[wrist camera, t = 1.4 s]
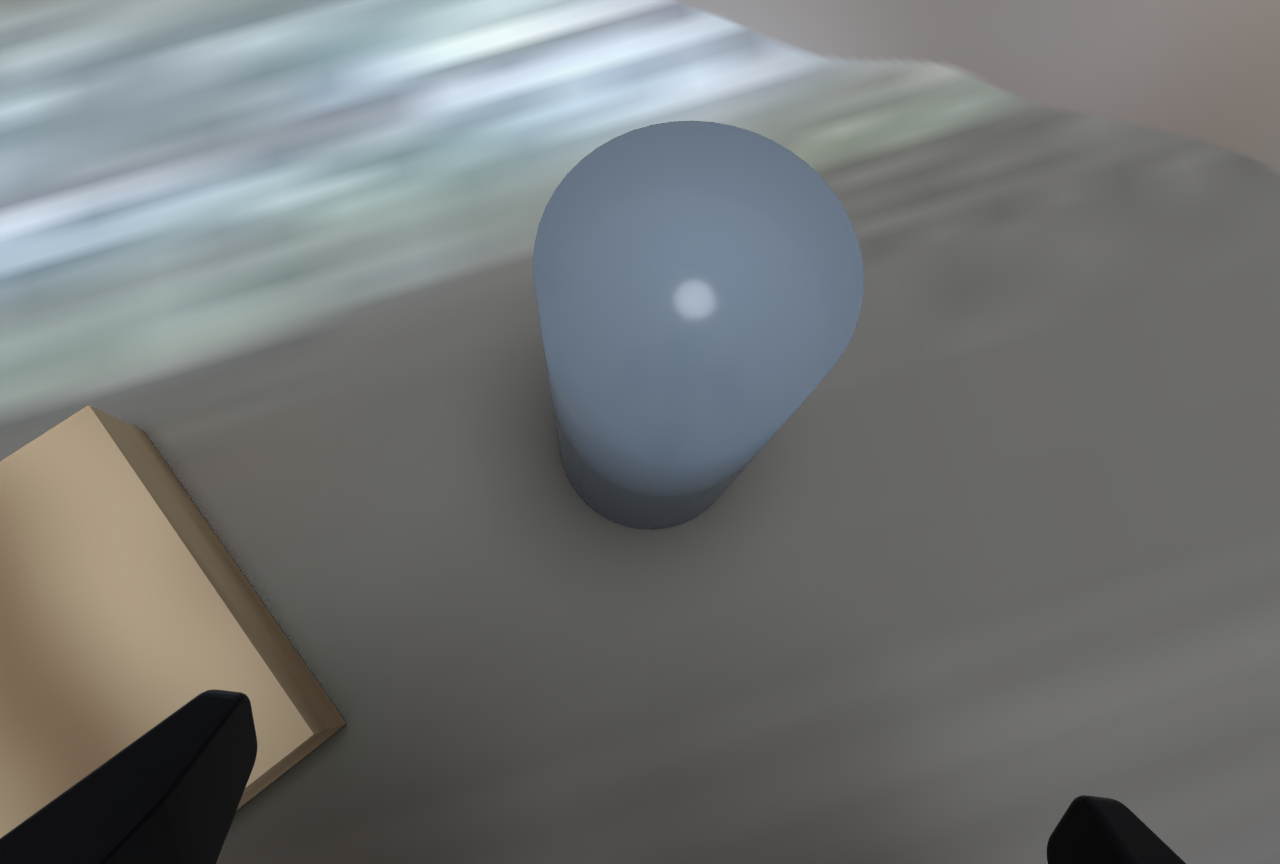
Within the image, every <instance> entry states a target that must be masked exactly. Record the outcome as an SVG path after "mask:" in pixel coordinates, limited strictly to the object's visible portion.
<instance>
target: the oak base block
mask: <svg viewBox="0 0 1280 864" xmlns="http://www.w3.org/2000/svg"><path fill="white" fill-rule="evenodd" d="M214 689H216V690H224V691H233V692H241V693H244V694H246V695H247V696H248V698H249V699H250V703H251V708H252V713H253V719H254V725H255V731H256V737H257V745H258V746H257V755H256V760H255V764H254V767H253V769H252V772H251V774H250V777H249V780H248V782H247V785H246V787H245V790H244V792H243V795H242V798H241V800H240V803H239V805H238V808H237V810H238V809H239V808H240V807H242V806H243V805H244V804H245V803H247V802H248V801H249V800H250V799H252V798H253V797H254V796H256V795H257V794H258V793H259V792H261V791H262V790H263V789H264V788H266V787H267V786H268V785H269V784H271V783H272V782H273V781H274V780H276V779H277V778H278V777H280V776H281V775H282V774H283V773H285V772H286V771H287V770H288V769H290V768H291V767H292V766H293V765H295V764H296V763H297V762H298V761H300V760H301V759H302V758H304V757H305V756H306V755H307V754H309V753H310V752H311V751H312V750H314V749H315V748H316V747H317V746H319V745H320V744H321V743H322V742H324V741H325V740H326V739H328V738H329V737H330V736H331V735H333V734H334V733H335V732H336V731H338V730H339V729H340V728H341V727H343V726H344V725H345V724H346V722H345V721H344V719H343V718H342V716H341V715H340V713H339V712H338V711H337V709H336V708H335V706H334V705H333V703H332V702H331V700H330V699H329V698H328V696H327V695H326V693H325V692H324V690H323V689H322V687H321V686H320V685H319V683H318V682H317V680H316V679H315V677H314V676H313V674H312V673H311V672H310V670H309V669H308V667H307V666H306V664H305V663H304V661H303V660H302V659H301V657H300V656H299V654H298V653H297V651H296V650H295V648H294V647H293V646H292V644H291V643H290V641H289V640H288V638H287V637H286V636H285V634H284V633H283V631H282V630H281V628H280V627H279V625H278V624H277V623H276V621H275V620H274V618H273V617H272V615H271V614H270V612H269V611H268V610H267V608H266V607H265V605H264V604H263V602H262V601H261V599H260V598H259V597H258V595H257V594H256V592H255V591H254V589H253V588H252V586H251V585H250V584H249V582H248V581H247V579H246V578H245V576H244V575H243V573H242V572H241V571H240V569H239V568H238V566H237V565H236V563H235V562H234V560H233V559H232V558H231V556H230V555H229V553H228V552H227V550H226V549H225V548H224V546H223V545H222V543H221V542H220V540H219V539H218V537H217V536H216V535H215V533H214V532H213V530H212V529H211V527H210V526H209V524H208V523H207V522H206V520H205V519H204V517H203V516H202V514H201V513H200V511H199V510H198V509H197V507H196V506H195V504H194V503H193V501H192V500H191V498H190V497H189V496H188V494H187V493H186V491H185V490H184V488H183V487H182V485H181V484H180V483H179V481H178V480H177V478H176V477H175V475H174V474H173V473H172V471H171V470H170V468H169V467H168V465H167V464H166V462H165V461H164V460H163V458H162V457H161V455H160V454H159V452H158V451H157V449H156V448H155V447H154V445H153V444H152V442H151V441H150V439H149V438H148V436H147V435H146V434H145V432H144V431H143V430H141V429H138V428H136V427H134V426H132V425H130V424H128V423H126V422H124V421H122V420H120V419H117V418H115V417H113V416H111V415H109V414H107V413H105V412H103V411H101V410H99V409H97V408H94V407H92V406H90V405H88V406H86V407H85V408H83V409H82V410H80V411H79V412H77V413H75V414H74V415H72V416H71V417H69V418H68V419H66V420H64V421H63V422H61V423H60V424H58V425H57V426H55V427H54V428H52V429H50V430H49V431H47V432H46V433H44V434H43V435H41V436H39V437H38V438H36V439H35V440H33V441H32V442H30V443H28V444H27V445H25V446H24V447H22V448H21V449H19V450H18V451H16V452H14V453H13V454H11V455H10V456H8V457H7V458H5V459H3V460H2V461H0V838H1V837H3V836H4V835H6V834H7V833H8V832H10V831H11V830H13V829H14V828H15V827H17V826H18V825H19V824H21V823H22V822H24V821H25V820H26V819H28V818H29V817H30V816H32V815H33V814H35V813H36V812H37V811H39V810H40V809H41V808H43V807H44V806H46V805H47V804H48V803H50V802H51V801H53V800H54V799H55V798H57V797H58V796H59V795H61V794H62V793H64V792H65V791H66V790H68V789H69V788H70V787H72V786H73V785H75V784H76V783H77V782H79V781H80V780H81V779H83V778H84V777H86V776H87V775H88V774H90V773H91V772H93V771H94V770H95V769H97V768H98V767H99V766H101V765H102V764H104V763H105V762H106V761H108V760H109V759H110V758H112V757H113V756H115V755H116V754H117V753H119V752H120V751H121V750H123V749H124V748H126V747H127V746H128V745H130V744H131V743H133V742H134V741H135V740H137V739H138V738H139V737H141V736H142V735H144V734H145V733H146V732H148V731H149V730H150V729H152V728H153V727H155V726H156V725H157V724H159V723H160V722H162V721H163V720H164V719H166V718H167V717H168V716H170V715H171V714H173V713H174V712H175V711H177V710H178V709H179V708H181V707H182V706H184V705H185V704H186V703H188V702H189V701H190V700H192V699H193V698H195V697H196V696H197V695H199V694H201V693H202V692H205V691H207V690H214ZM237 810H236V811H237Z"/></svg>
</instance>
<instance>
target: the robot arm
mask: <svg viewBox="0 0 1280 864" xmlns="http://www.w3.org/2000/svg"><path fill="white" fill-rule="evenodd" d="M257 746H258V745H257V737H256V731H255V725H254V719H253V713H252V708H251V703H250V699H249V698H248V696H247V695H246V694H244V693H241V692H233V691H224V690H216V689H214V690H207V691H205V692H202V693H201V694H199V695H197V696H196V697H195V698H193V699H192V700H190V701H189V702H188V703H186V704H185V705H184V706H182V707H181V708H179V709H178V710H177V711H175V712H174V713H173V714H171V715H170V716H168V717H167V718H166V719H164V720H163V721H162V722H160V723H159V724H157V725H156V726H155V727H153V728H152V729H150V730H149V731H148V732H146V733H145V734H144V735H142V736H141V737H139V738H138V739H137V740H135V741H134V742H133V743H131V744H130V745H128V746H127V747H126V748H124V749H123V750H121V751H120V752H119V753H117V754H116V755H115V756H113V757H112V758H110V759H109V760H108V761H106V762H105V763H104V764H102V765H101V766H99V767H98V768H97V769H95V770H94V771H93V772H91V773H90V774H88V775H87V776H86V777H84V778H83V779H81V780H80V781H79V782H77V783H76V784H75V785H73V786H72V787H70V788H69V789H68V790H66V791H65V792H64V793H62V794H61V795H59V796H58V797H57V798H55V799H54V800H53V801H51V802H50V803H48V804H47V805H46V806H44V807H43V808H41V809H40V810H39V811H37V812H36V813H35V814H33V815H32V816H30V817H29V818H28V819H26V820H25V821H24V822H22V823H21V824H19V825H18V826H17V827H15V828H14V829H13V830H11V831H10V832H8V833H7V834H6V835H4V836H3V837H1V838H0V864H216V862H217V859H218V857H219V854H220V852H221V849H222V846H223V844H224V841H225V839H226V836H227V834H228V831H229V828H230V826H231V823H232V821H233V818H234V816H235V813H236V810H237V808H238V805H239V803H240V800H241V798H242V795H243V792H244V790H245V787H246V785H247V782H248V780H249V777H250V774H251V772H252V769H253V767H254V764H255V760H256V755H257ZM1047 860H1048V864H1186V863H1185V862H1184V861H1183V860H1182V859H1181V858H1180V857H1179V856H1177V855H1176V854H1175V853H1174V852H1173V851H1172V850H1171V849H1170V848H1169V847H1168V846H1167V845H1166V844H1165V843H1164V842H1163V841H1162V840H1161V839H1160V838H1159V837H1158V836H1157V835H1156V834H1155V833H1153V832H1152V831H1151V830H1150V829H1149V828H1148V827H1147V826H1146V825H1145V824H1144V823H1143V822H1142V821H1141V820H1140V819H1139V818H1138V817H1137V816H1136V815H1135V814H1134V813H1133V812H1132V811H1130V810H1129V809H1128V808H1127V807H1126V806H1125V805H1123V804H1122V803H1120V802H1119V801H1117V800H1114V799H1110V798H1102V797H1094V796H1079V797H1077V798H1075V799H1074V800H1073V802H1072V803H1071V804H1070V806H1069V808H1068V809H1067V811H1066V812H1065V814H1064V815H1063V817H1062V818H1061V820H1060V822H1059V823H1058V825H1057V826H1056V828H1055V829H1054V831H1053V832H1052V834H1051V836H1050V838H1049V841H1048V845H1047Z"/></svg>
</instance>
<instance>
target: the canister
mask: <svg viewBox="0 0 1280 864" xmlns="http://www.w3.org/2000/svg"><path fill="white" fill-rule="evenodd" d="M533 273H534V286H535V292H536V299H537V305H538V312H539V318H540V324H541V331H542V337H543V344H544V350H545V357H546V363H547V370H548V376H549V383H550V389H551V395H552V402H553V408H554V415H555V421H556V428H557V434H558V441H559V447H560V453H561V458H562V463H563V466H564V469H565V472H566V475H567V477H568V479H569V481H570V483H571V485H572V486H573V488H574V489H575V491H576V492H577V493H578V495H579V496H580V497H581V498H582V499H583V500H584V501H585V503H586V504H587V505H589V506H590V507H591V508H592V509H593V510H595V511H596V512H597V513H599V514H600V515H602V516H604V517H605V518H607V519H609V520H611V521H613V522H616V523H618V524H621V525H625V526H628V527H633V528H638V529H662V528H668V527H672V526H676V525H679V524H682V523H685V522H687V521H689V520H691V519H693V518H695V517H697V516H698V515H700V514H701V513H702V512H704V511H705V510H707V509H708V508H709V507H710V506H711V505H712V504H713V503H714V502H715V501H716V500H717V499H718V498H719V497H720V496H721V494H722V493H723V492H724V491H725V490H726V489H727V488H728V486H729V485H730V484H731V483H732V482H733V481H734V480H735V478H736V477H737V476H738V475H739V474H740V473H741V472H742V470H743V469H744V468H745V467H746V466H747V465H748V464H749V463H750V461H751V460H752V459H753V458H754V457H755V456H756V455H757V453H758V452H759V451H760V450H761V449H762V448H763V447H764V445H765V444H766V443H767V442H768V441H769V440H770V439H771V438H772V436H773V435H774V434H775V433H776V432H777V431H778V430H779V428H780V427H781V426H782V425H783V424H784V423H785V422H786V420H787V419H788V418H789V417H790V416H791V415H792V414H793V413H794V411H795V410H796V409H797V408H798V407H799V406H800V405H801V403H802V402H803V401H804V400H805V399H806V398H807V397H808V395H809V394H810V393H811V392H812V391H813V390H814V389H815V388H816V386H817V385H818V384H819V383H820V382H821V381H822V380H823V378H824V377H825V376H826V375H827V374H828V373H829V371H830V370H831V369H832V368H833V366H834V365H835V364H836V363H837V361H838V360H839V359H840V357H841V356H842V354H843V352H844V350H845V349H846V347H847V345H848V344H849V342H850V340H851V337H852V335H853V332H854V330H855V328H856V325H857V322H858V318H859V314H860V310H861V306H862V300H863V290H864V271H863V261H862V255H861V250H860V245H859V242H858V239H857V236H856V233H855V230H854V227H853V225H852V222H851V220H850V218H849V216H848V214H847V212H846V210H845V208H844V207H843V205H842V203H841V202H840V200H839V199H838V197H837V196H836V194H835V193H834V191H833V190H832V189H831V188H830V187H829V185H828V184H827V183H826V182H825V181H824V179H823V178H822V177H821V176H820V175H819V174H818V173H817V172H816V171H815V170H814V169H813V168H811V167H810V166H809V165H808V164H807V163H806V162H805V161H803V160H802V159H801V158H799V157H798V156H797V155H795V154H794V153H793V152H791V151H790V150H788V149H786V148H785V147H783V146H781V145H779V144H778V143H776V142H774V141H772V140H770V139H768V138H766V137H763V136H761V135H759V134H756V133H754V132H751V131H748V130H744V129H741V128H738V127H735V126H730V125H725V124H719V123H714V122H701V121H679V122H668V123H661V124H655V125H650V126H647V127H643V128H640V129H636V130H633V131H630V132H628V133H626V134H623V135H621V136H618V137H616V138H614V139H612V140H610V141H609V142H607V143H605V144H603V145H602V146H600V147H598V148H597V149H595V150H594V151H593V152H591V153H590V154H589V155H587V156H586V157H585V158H583V159H582V160H581V161H580V162H579V163H578V164H577V165H576V166H575V167H574V168H573V169H572V170H571V171H570V172H569V173H568V174H567V175H566V177H565V178H564V179H563V180H562V182H561V183H560V184H559V186H558V187H557V188H556V190H555V191H554V193H553V195H552V197H551V199H550V200H549V202H548V204H547V206H546V208H545V210H544V213H543V216H542V218H541V221H540V223H539V227H538V231H537V236H536V240H535V245H534V257H533Z"/></svg>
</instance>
